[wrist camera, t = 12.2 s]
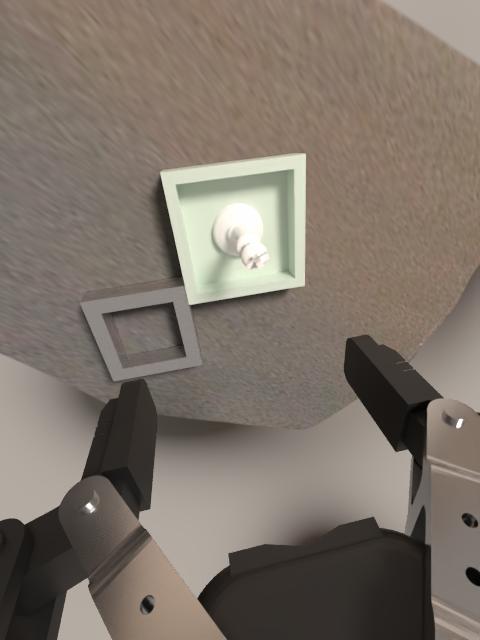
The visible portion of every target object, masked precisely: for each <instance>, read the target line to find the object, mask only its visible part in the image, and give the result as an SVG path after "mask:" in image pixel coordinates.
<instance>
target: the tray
mask: <svg viewBox="0 0 480 640" xmlns="http://www.w3.org/2000/svg"><path fill="white" fill-rule="evenodd" d="M160 174H161V179H162V183H163V188H164V193H165V197H166V202H167V206H168V211H169V216H170V220H171V225H172V229H173V234H174V238H175V243H176V248H177V252H178V257H179V261H180V266H181V271H182V275H183V280H184V284H185V289H186V294H187V298H188V303H189V305H193V304H199V303H205V302H211V301H216V300H222V299H228V298H234V297H240V296H246V295H252V294H258V293H264V292H270V291H276V290H282V289H288V288H294V287H300V286H305V188H306V154H301V153H292V154H284V155H276V156H268V157H260V158H253V159H245V160H237V161H229V162H221V163H214V164H206V165H198V166H190V167H183V168H175V169H167V170H162V171H161V172H160ZM235 203H242V204H246V205H249V206H251V207H252V208H254V209H255V210H256V211H257V213H258V214H259V216H260V218H261V220H262V223H263V236H262V239H261V244H262V245H264V246H265V248H266V250H267V253H268V255H269V257H270V258H269V259H268V260H266V261H265V263H264V266H263V267H262V268H260V269H259V268H253V269H251V270H249V269H248V267H247V266H245V265H244V264H243V262H242V260H241V257H240V256H234V255H230V254H227V253H226V252H224V251H223V250H222V249H221V248H220V247H219V246H218V245H217V244H216V242H215V240H214V237H213V223H214V220H215V218H216V216H217V214H218V213H219V212H220V211H221V210H222V209H223V208H225V207H226V206H228V205H231V204H235Z"/></svg>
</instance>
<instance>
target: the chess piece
mask: <svg viewBox="0 0 480 640" xmlns="http://www.w3.org/2000/svg"><path fill="white" fill-rule="evenodd" d="M262 236H263V223H262V220H261V218H260V216H259V214H258V213H257V211H256V210H255V209H254V208H252V207H251V206H249V205H246V204H242V203H235V204H231V205H228V206H226V207H225V208H223V209H222V210H221V211H220V212H219V213H218V214H217V216H216V218H215V220H214V223H213V237H214V240H215V242H216V244H217V245H218V246H219V247H220V248H221V249H222V250H223V251H224V252H226V253H227V254H230V255H234V256H240V257H241V260H242V262H243V264H244V265H245V266H247V267H248V269H249V270H251V269H253V268H259V269H260V268H262V267H263V266H264V263H265V261H266V260H268V259H269V258H270V257H269V255H268V253H267V250H266V248H265V246H264V245H262V244H261V239H262Z"/></svg>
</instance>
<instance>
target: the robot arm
mask: <svg viewBox="0 0 480 640" xmlns="http://www.w3.org/2000/svg"><path fill="white" fill-rule="evenodd" d="M344 373H345V377H346V379H347V381H348V383H349V385H350V386H351V387H352V389H353V390H354V392H355V393H356V395H357V396H358V398H359V399H360V400H361V402H362V403H363V405H364V406H365V408H366V409H367V410H368V412H369V414H370V415H371V417H372V418H373V419H374V421H375V422H376V424H377V425H378V427H379V428H380V430H381V431H382V432H383V434H384V435H385V437H386V438H387V440H388V441H389V443H390V444H391V446H392V447H393V449H394V450H395V451H396V452H398V451H403V450H407V449H408V450H409V451H410V453H411V454H412V459H411V471H410V489H409V505H408V515H407V521H406V526H405V533H404V534H403V533H400V532H397V531H394V530H389V529H384V528H379V526H378V524H377V522H376V520H375V519H374V517H371V518H367V519H363V520H359V521H355V522H351V523H347V524H343V525H339V526H338V527H336V528H334V529H333V530H331V531H330V532H328V533H327V534H325V535H323V536H322V537H320V538H319V539H317V540H316V541H314V542H312V543H311V544H309V545H307V546H287V545H269V544H264V545H260V546H256V547H252V548H248V549H244V550H241V551H237V552H233V553H229V563H230V565H229V566H228V567H226V568H225V569H223V570H222V571H221V572H220V573H218V574H217V575H216V576H215V577H214V578H213V579H212V580H211V581H210V582H209V583H208V584H207V585H206V587H205V588H204V589H203V591H202V592H201V593H200V595H199V597H198V598H196V597H195V595H194V594H193V593H192V592H191V590H190V589H189V587H188V586H187V585H186V583H185V582H184V580H183V579H182V578H181V577H180V575H179V574H178V572H177V571H176V569H175V568H174V567H173V565H172V564H171V563H170V561H169V560H168V559H167V557H166V556H165V555H164V553H163V552H162V550H161V549H160V548H159V546H158V545H157V543H156V542H155V541H154V539H153V538H152V537H151V535H150V534H149V533H148V532H147V530H146V529H144V528H143V526H142V525H141V524H140V522H139V521H138V519H139V512H140V511H144V510H148V509H150V504H151V492H152V481H153V469H154V456H155V444H156V432H157V412H156V408H155V405H154V402H153V399H152V397H151V394H150V392H149V389H148V386H147V384H146V382H145V380H144V379H139V380H134V381H129V382H124V383H123V384H122V386H121V390H120V394H119V398H115V399H110V400H109V402H108V403H107V404H106V406H105V407H104V409H103V410H102V411H101V414H100V417H99V421H98V427H97V428H96V431H95V437H94V438H93V441H92V445H91V448H90V452H89V455H88V459H87V462H86V466H85V469H84V472H83V476H82V479H81V481H80V482H78V483H77V484H76V485H75V486H73V487H72V488H71V489H70V490H69V491H68V493H67V494H66V495H65V497H64V498H63V500H62V502H61V504H60V506H58V507H57V508H55V509H53V510H52V511H50V512H48V513H46V514H44V515H42V516H40V517H38V518H36V519H35V520H33V521H31V522H29V523H27V524H25V525H24V524H23V523H22V522H21V521H19V520H18V519H6V520H2V521H0V640H57V636H58V631H59V627H60V622H61V617H62V612H63V608H64V603H65V598H66V593H67V590H69V589H70V588H72V587H73V586H75V585H76V584H78V583H80V582H81V581H83V580H84V579H86V578H88V579H89V582H90V584H89V585H88V588H89V591H90V594H91V596H92V598H93V601H94V603H95V605H96V607H97V609H98V610H99V613H100V615H101V617H102V619H103V621H104V623H105V625H106V627H107V630H108V631H109V634H110V636H111V638H112V640H480V413H477V412H475V411H474V410H473V409H472V408H471V407H469V406H468V405H466V404H464V403H462V402H459V401H456V400H452V399H447V398H443V397H442V396H441V395H440V394H439V393H438V392H437V391H436V390H435V389H434V388H433V387H432V386H431V385H430V384H429V383H428V382H427V381H426V380H425V379H424V378H423V377H422V376H421V375H420V374H419V373H418V372H417V371H416V370H413V367H412V366H411V365H409V363H408V362H405V359H404V358H403V357H402V356H400V355H399V354H398V353H397V352H396V351H395V350H393V349H391V348H389V347H387V346H385V345H378V344H377V343H376V342H375V341H374V340H373V339H372V338H371V337H370V336H369V335H362V336H357V337H352V338H348V339H347V341H346V350H345V361H344Z"/></svg>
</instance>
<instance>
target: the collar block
mask: <svg viewBox="0 0 480 640" xmlns="http://www.w3.org/2000/svg"><path fill="white" fill-rule="evenodd" d="M169 302H173V304H174V308H175V312H176V316H177V320H178V324H179V328H180V332H181V336H182V340H183V344H184V345H180V346H175V347H169V348H164V349H158V350H152V351H147V352H141V353H136V354H130V355H126V352H125V349H124V347H123V344H122V341H121V339H120V336H119V333H118V331H117V328H116V325H115V323H114V320H113V317H112V315H111V312H115V311H121V310H127V309H133V308H139V307H145V306H151V305H157V304H163V303H169ZM80 305H81V307H82V309H83V312H84V314H85V316H86V319H87V321H88V323H89V326H90V328H91V330H92V333H93V335H94V337H95V340H96V342H97V344H98V347H99V349H100V351H101V354H102V356H103V358H104V361H105V363H106V365H107V368H108V370H109V372H110V375H111V377H112V379H113V381H119V380H124V379H130V378H135V377H140V376H146V375H151V374H157V373H162V372H167V371H173V370H178V369H184V368H189V367H195V366H200V365H202V356H201V349H200V344H199V339H198V335H197V330H196V325H195V321H194V316H193V311H192V307H191V305H189V303H188V298H187V294H186V289H185V284H184V280H183V276H182V277H176V278H170V279H164V280H157V281H151V282H145V283H138V284H132V285H126V286H120V287H113V288H107V289H101V290H94V291H88V292H86V294H85V295H84V297H83V298H82V300H81V301H80Z"/></svg>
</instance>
